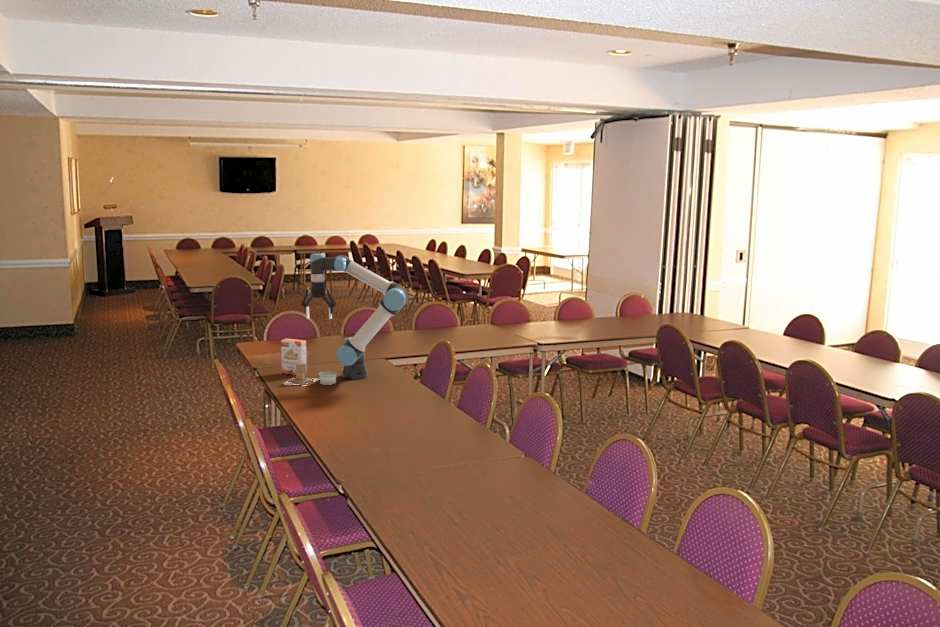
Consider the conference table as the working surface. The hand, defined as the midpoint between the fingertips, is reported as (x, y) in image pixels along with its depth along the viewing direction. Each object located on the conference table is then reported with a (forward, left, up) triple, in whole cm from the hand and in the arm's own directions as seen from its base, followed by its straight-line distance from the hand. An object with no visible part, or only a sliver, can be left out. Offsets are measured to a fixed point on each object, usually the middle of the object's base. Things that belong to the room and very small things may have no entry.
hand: (319, 318), depth 438 cm
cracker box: (-10, -21, -36) cm, 43 cm away
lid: (+6, -9, -36) cm, 37 cm away
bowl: (+6, +7, -36) cm, 37 cm away
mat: (+6, -9, -36) cm, 38 cm away
